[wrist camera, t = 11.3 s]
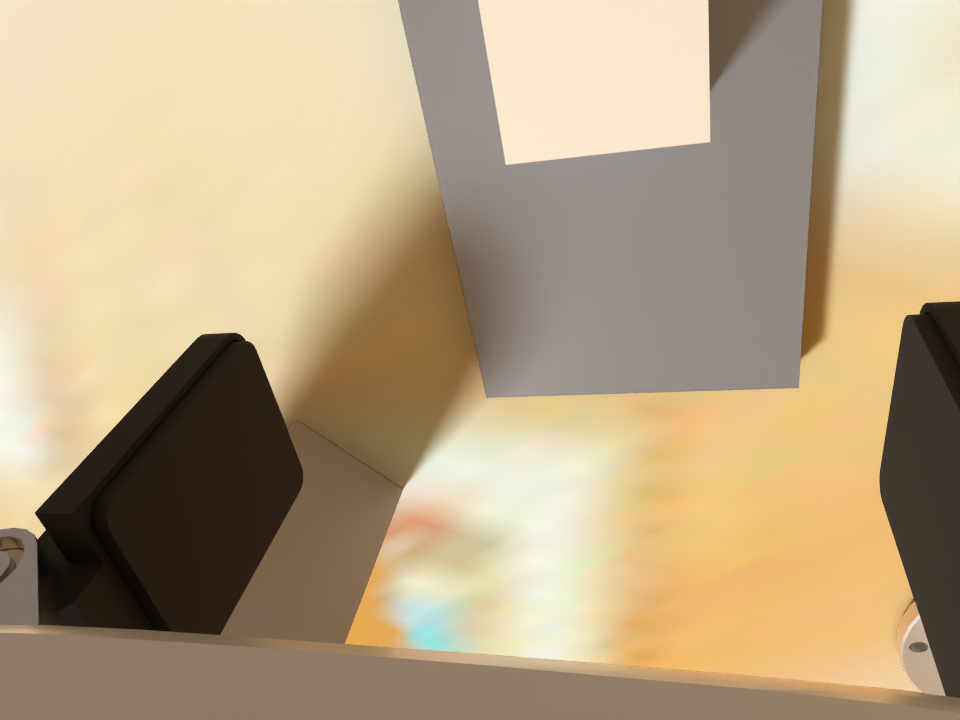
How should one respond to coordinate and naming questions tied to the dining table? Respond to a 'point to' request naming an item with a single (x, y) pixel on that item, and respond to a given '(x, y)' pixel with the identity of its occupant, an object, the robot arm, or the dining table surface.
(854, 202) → the dining table surface
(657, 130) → the cream square block
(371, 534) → the perfume bottle
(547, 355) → the post base
